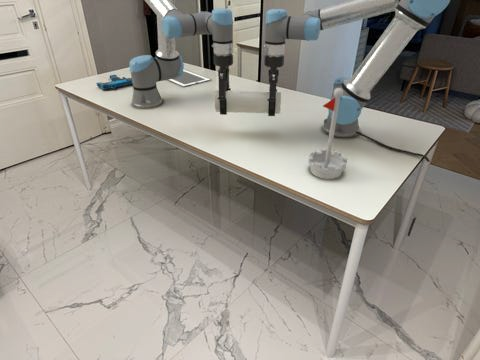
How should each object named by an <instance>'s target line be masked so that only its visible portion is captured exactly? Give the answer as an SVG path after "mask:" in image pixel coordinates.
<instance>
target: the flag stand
mask: <svg viewBox="0 0 480 360" xmlns="http://www.w3.org/2000/svg"><path fill="white" fill-rule="evenodd" d="M342 95H343V90H342V89H341V88H336V89H335V90H334V96H335V98H334V99H332V100H331V99H330V100H331V101H330V100H329V101H327V102H326V103H325V104H323V105H322V107H324V108H325V109H327V110H328V109H330V110H332V111H333V114H332V121H331V127H330V134H328V141H327V147H326V148H321V149H320V151H317V150H315V149H314V150H312V151H311V152H310V155H308V162H307V163H308V165H309V166H310V167H309V169H310V173H311V174H313V176H315V177H318V178H321V179H325V180H332V179H337V178H339V177H341V176H342V174H343V171H344V170H345V169H346V168H347V164H348V158H347V156H346V155H342V152H340V151H338V150H334V151H332V149H333V143H334V132H335V126H336V120H337V113H338V107H339V101H340V97H341V96H342Z"/></svg>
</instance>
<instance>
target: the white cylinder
mask: <svg viewBox="0 0 480 360" xmlns="http://www.w3.org/2000/svg"><path fill="white" fill-rule="evenodd" d="M269 95H270V91H243V90H242V91H239V90H238V91H237V90H235V91H234V90H231V91H226V100H227V113H240V114H241V113H244V114H268V108H269V101H267V99H269ZM218 98H219V90H215V93H214V111H215V112H217V113H220V100H219V99H218ZM281 102H282V92H281V91H280V92H278V91H277V92H276V105H275V115H276V114H279V115H280V114H281V105H282V103H281Z"/></svg>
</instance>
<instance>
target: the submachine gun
mask: <svg viewBox="0 0 480 360" xmlns="http://www.w3.org/2000/svg"><path fill="white" fill-rule="evenodd" d="M126 78H127V77H126ZM109 79H111V81H107V82H96V83H95V84H96V87H98V88H99V89H101V90H102V91H103V90H109V89H113V90H116V88H118V87H119V88H120V87H122V86H127V85H133V83H132V77H128V78H127V79H123V78H121V77H119V76H118V75H117V74H110V75H109Z"/></svg>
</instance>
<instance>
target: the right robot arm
mask: <svg viewBox="0 0 480 360" xmlns="http://www.w3.org/2000/svg"><path fill="white" fill-rule="evenodd" d="M450 2H451V0H345V1H341V2H339V3H334V4H331V5H328V6H325V7H321V8H319V9H314V10H308V11H305V12H304V13H302V15H300V16H292V15H291V16H290V15H288V11H287V10H286V9H283V8H273V9H269V10H267V11H266V16H265V24H264V26H265V27H264V28H265V30H264V31H265V32H264V33H265V34H264V45H263V46H262V48H263V49H264V56H263V57H264V58H263V60H264V61H263V65H264V66H265V67H267V68H269V69H268V83H269V86H268V88H269V89H268V92H270V95H269V99H267V101H269V108H268V113H267V117H275V116H276V114H275V105H276V92H278V89H277V84H278V81H279V74H280V71H279V68H282V67H283V66H284V65H285V52H286V40H297V41H307V42H309V41H317V40H318V39H319V36H320V32H322V31H324V30H328V29H331V28H334V27H338V26H343V25H346V24H350V23H354V22H358V21H361V20H366V19H369V18H373V17H377V16H380V15H384V14H387V13H391V12H395V13H394V14H395V15H394V17H393V18H392V20H391V22H390V23H389V24H388V26H387V27H386V29H384V31H383V33H381V35H380V37H379V38H378V40H377V41H376V42H375V44H374V45H373V47H372V48H371V49H370V51H369V52H368V54H367V55H366V56H365V58H364V59H363V60H362V62H361V63H360V65H359V66H358V68H356V70H355V72H353V74H352V76H350V77H349V76H339V77H336V78H335V79H334V82H333V84H332V85H333V86H332V87H333V88H332V93H331V98H330V100H329V101H331V100H332V99H334V98H335V96H334V90H335V89H336V88H341V89H342V90H343V95H342V96H341V97H340V101H339V107H338V113H337V120H336V126H335V132H334V137H335V138H339V139H341V138H342V139H349V138H354V137H356V136H357V135H358V136H361V137H364V138H366V139H367V140H370V141H371V142H374V143H375V144H378V145H380V146H382V147H384V148H387V149H389V150H392V151H395V152H400V153H405V154H408V155H412V156H417V157H421V158H423V159H425V161H426V162H428V163H430V158H429V157H428V156H426V155H425V154H422V153H418V152H413V151H409V150H405V149H400V148H396V147H392V146H390V145H387V144H385V143H383V142H381V141H379V140H377V139H375V138H373V137H370V136H368V135H367V134H365V133H361V132H360V125H359V117H360V115H361V113H362V110H363V108H364V107H365V106H366V105H367V103H368V102H369V101H370V100H371V92H372V90H373V89H374V88H375V86H376V85H377V84H378V82H379V81H380V80H381V78H382V77H383V76H384V75H385V73H386V72H387V71H388V70H389V68H390V67H391V66H392V65H393V63H394V62H395V60H396V59H397V58H398V57H399V55H400V54H401V53H402V51H403V50H404V49H405V47H406V46H407V45H408V44H409V42H410V41H411V40H412V38H413V37H414V36H415V34H416V33H417V32H418V31H420V30H423V29H426V28H427V27H428V26H429V24H430V23H431V22H432V21H433V19H435V17H436V16H438V15H439V14H441V13H442V12H443V11H444V10H445V9H446V8H447V6H448V5H449V4H450ZM327 111H328V115H327V117H326V118H324V119H323V126H322V130H323V132H324V133H325V134H326V135H329V134H330V127H331V121H332V114H333V111H332V110H330V109H328V108H327ZM416 220H417V217H414V218H412V220H411V224H410V226H409V229H408V232H407V237H410V236H411V232H412V230H413V227H414V225H415V222H416Z"/></svg>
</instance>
